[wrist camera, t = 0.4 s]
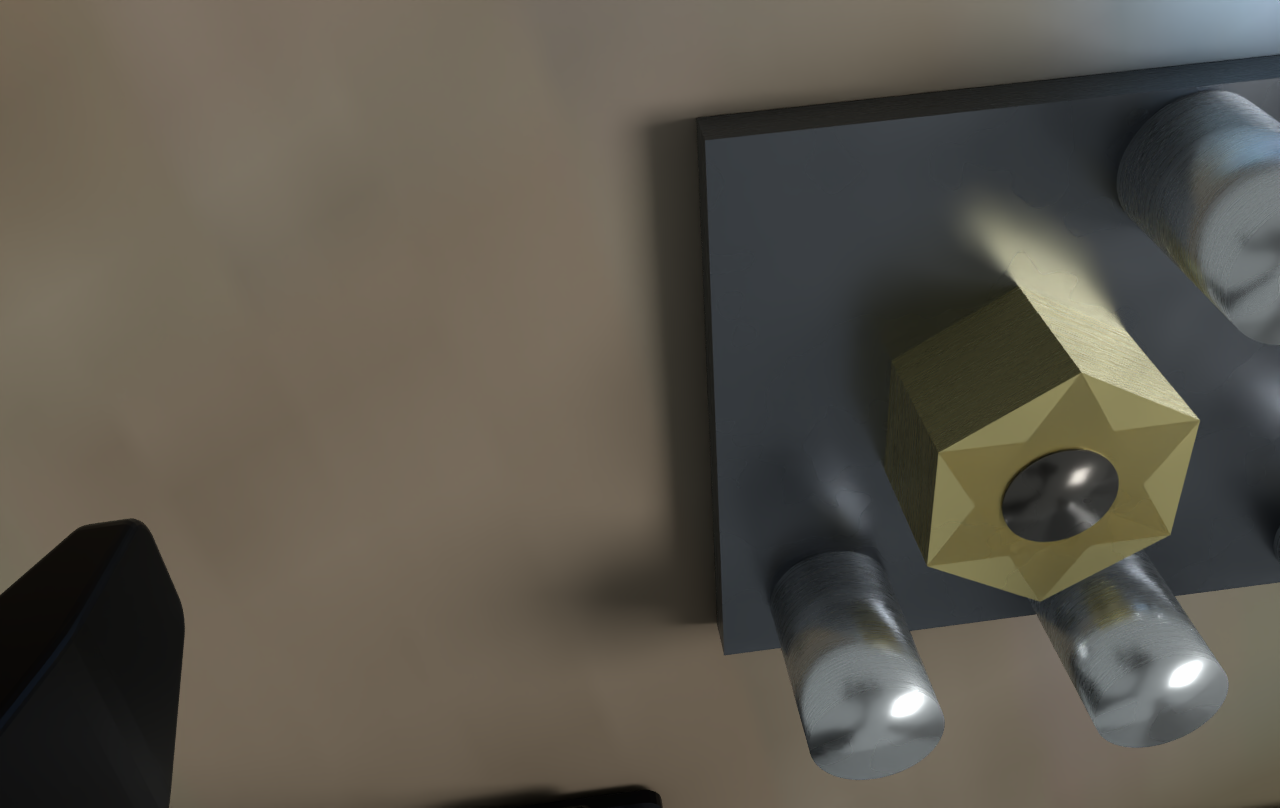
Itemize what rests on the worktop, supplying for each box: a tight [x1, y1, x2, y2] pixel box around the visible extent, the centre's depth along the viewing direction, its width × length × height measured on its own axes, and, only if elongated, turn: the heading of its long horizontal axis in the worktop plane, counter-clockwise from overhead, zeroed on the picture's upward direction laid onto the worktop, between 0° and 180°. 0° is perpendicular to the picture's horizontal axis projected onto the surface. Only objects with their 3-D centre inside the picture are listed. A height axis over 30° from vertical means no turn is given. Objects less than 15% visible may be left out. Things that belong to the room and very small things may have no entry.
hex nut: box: [884, 286, 1200, 602], centre depth 24 cm, size 5×6×3 cm
